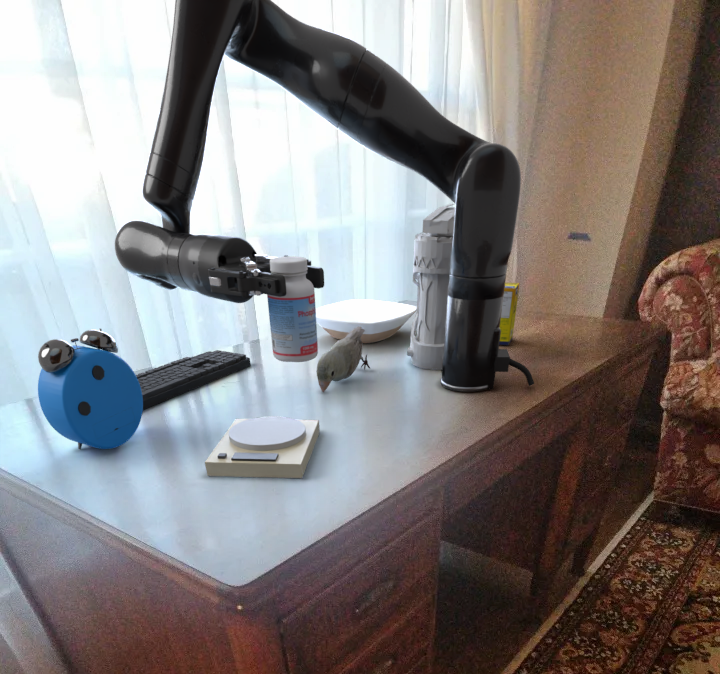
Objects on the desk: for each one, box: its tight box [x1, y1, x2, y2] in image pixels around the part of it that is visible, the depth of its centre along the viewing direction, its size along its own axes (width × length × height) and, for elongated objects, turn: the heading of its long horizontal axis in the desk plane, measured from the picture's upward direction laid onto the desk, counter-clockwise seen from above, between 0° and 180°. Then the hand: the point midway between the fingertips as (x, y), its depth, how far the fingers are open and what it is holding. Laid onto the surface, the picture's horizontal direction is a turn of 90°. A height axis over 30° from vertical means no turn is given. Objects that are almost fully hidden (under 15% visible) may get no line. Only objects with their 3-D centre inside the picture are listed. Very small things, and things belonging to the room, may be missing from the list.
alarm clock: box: [37, 328, 144, 450], centre depth 81 cm, size 13×6×15 cm, turn 148°
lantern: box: [406, 203, 455, 371], centre depth 108 cm, size 13×10×25 cm
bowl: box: [316, 298, 417, 344], centre depth 130 cm, size 22×22×5 cm
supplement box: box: [499, 282, 521, 346], centre depth 122 cm, size 6×6×11 cm
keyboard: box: [135, 349, 252, 411], centre depth 106 cm, size 35×11×2 cm, turn 149°
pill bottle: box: [266, 255, 319, 363], centre depth 74 cm, size 6×6×11 cm
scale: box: [204, 415, 321, 479], centre depth 82 cm, size 13×16×3 cm
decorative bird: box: [316, 326, 371, 393], centre depth 105 cm, size 5×16×8 cm, turn 154°
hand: (303, 282), depth 71 cm, fingers closed on pill bottle, 6 cm apart
